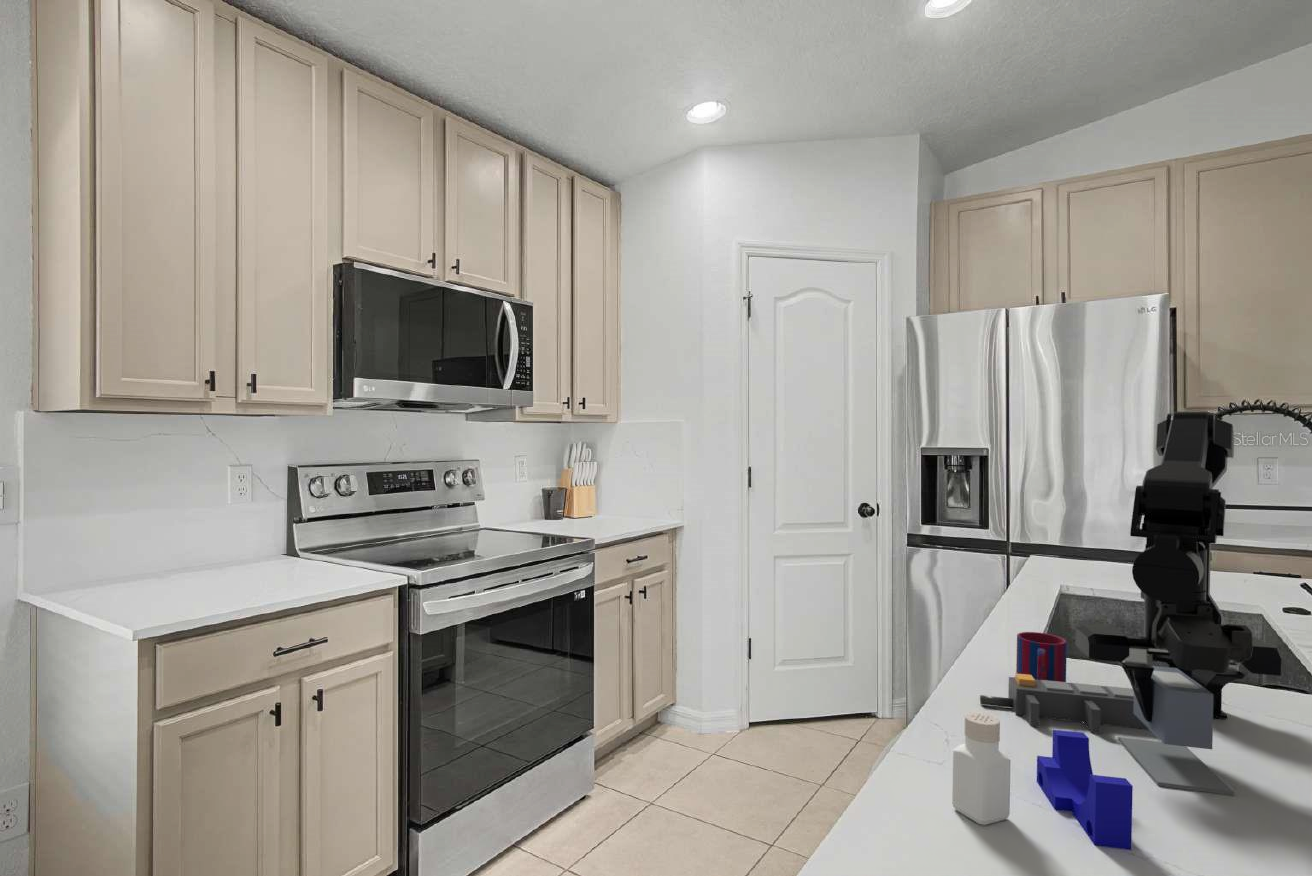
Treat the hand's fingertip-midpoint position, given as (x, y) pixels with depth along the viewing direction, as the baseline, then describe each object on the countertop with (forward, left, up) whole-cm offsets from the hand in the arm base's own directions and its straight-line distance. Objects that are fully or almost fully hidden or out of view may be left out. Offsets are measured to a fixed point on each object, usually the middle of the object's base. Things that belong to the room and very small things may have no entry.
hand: (1172, 723), depth 82 cm
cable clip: (+13, +15, -5) cm, 21 cm away
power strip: (+8, -12, -5) cm, 15 cm away
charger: (0, 0, -1) cm, 1 cm away
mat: (0, 0, -5) cm, 5 cm away
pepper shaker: (+23, +18, -5) cm, 30 cm away
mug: (+8, -25, -5) cm, 27 cm away
